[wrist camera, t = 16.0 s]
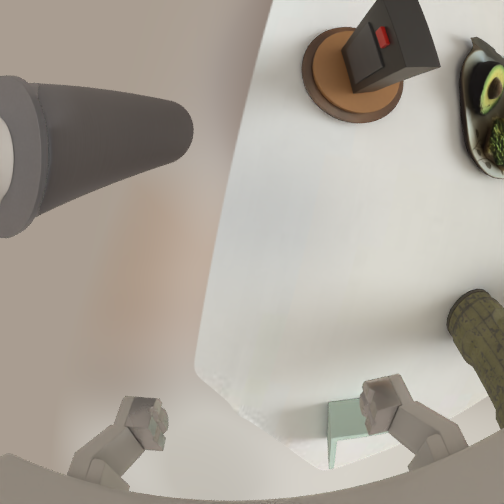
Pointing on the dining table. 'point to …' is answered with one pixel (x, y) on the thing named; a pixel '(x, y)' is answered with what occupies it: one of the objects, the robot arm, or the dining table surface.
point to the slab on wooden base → (375, 57)
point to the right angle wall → (344, 424)
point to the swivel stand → (323, 102)
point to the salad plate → (483, 107)
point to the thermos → (481, 341)
